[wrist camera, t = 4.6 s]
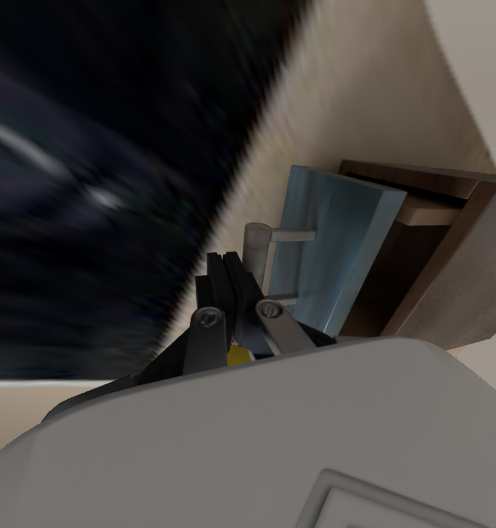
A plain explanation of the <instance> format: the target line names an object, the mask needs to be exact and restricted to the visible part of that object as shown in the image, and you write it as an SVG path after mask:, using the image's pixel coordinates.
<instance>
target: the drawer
mask: <svg viewBox="0 0 496 528" xmlns="http://www.w3.org/2000/svg"><path fill="white" fill-rule="evenodd" d="M467 201H468V199H463V198H459V197H454V196H450V195H446V194H441V193H437V192H432V191H428V190H423V189H419V188H415V187H410V186H406V185H401V184H397V183H388V182H371V181H363V180H359V179H355V178H351V177H347V176H343V175H340V174H336V173H332V172H328V171H324V170H320V169H316V168H312V167H308V166H298V165H292V166H291V172H290V177H289V183H288V188H287V193H286V199H285V204H284V210H283V215H282V221H281V226H280V228H271V227H270V226H268V225H266V224H263V223H248V224H247V225H246V226H245V234H244V245H243V257H242V265H243V267H244V269H245V271H246V272H252V274H253V275H254V277H255V279H256V281H257V283H258V285H259V287H260V289H261V291H262V284H263V278H264V272H265V266H266V259H267V253H268V247H269V241H271V242H277V248H276V253H275V259H274V264H273V269H272V275H271V280H270V286H269V291H268V294H269V296H264V297H265V299H273V300H276V301H278V302H280V303H281V304H282V305H283V306H284V307H285V308H286V309H287V311H288V312H289V313H290V314H291V316H292V317H293V318H294V319H295V320H297V321H299V322H301V323H303V324H306V325H308V326H310V327H312V328H314V329H317V330H319V331H321V332H323V333H325V334H327V335H329V336H330V337H331V338H332V337H333V335H335V336H360V337H372V338H373V337H379V336H380V334H381V333H382V331H383V330H384V328H385V326H386V325H387V323H388V322H389V320H390V319H391V317H392V316H393V314H394V313H395V311H396V310H397V308H398V307H399V305H400V303H401V302H402V300H403V299H404V297H405V296H406V294H407V293H408V291H409V290H410V288H411V287H412V285H413V284H414V282H415V281H416V279H417V277H418V276H419V274H420V273H421V271H422V270H423V268H424V267H425V265H426V264H427V262H428V261H429V259H430V258H431V256H432V254H433V253H434V251H435V250H436V248H437V247H438V245H439V244H440V242H441V241H442V239H443V238H444V236H445V235H446V233H447V232H448V230H449V228H450V227H451V225H452V224H453V222H454V221H455V219H456V218H457V216H458V215H459V213H460V212H461V210H462V209H463V207H464V205H465V204H466V202H467Z"/></svg>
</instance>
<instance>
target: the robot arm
mask: <svg viewBox="0 0 496 528" xmlns="http://www.w3.org/2000/svg"><path fill="white" fill-rule="evenodd" d="M195 284H196V300H197V310H196V311H195V312H194V313H193V314H192V317H191V322H190V327H189V328H188V329H187V330H186V331H185V332H184V333H183V334H182V335H180V336H179V337H178V338H177V339H176V340H175V341H174V342H173V343H172V344H171V345H170V346H169V347H167V348H166V349H165V350H164V351H163V352H162V353H161V354H160V355H159V356H158V357H157V358H156V359H154V360H153V361H152V362H151V363H150V364H149V365H148V366H147V367H146V368H145V369H144V370H143V372H142V373H141V374H138V375H136V376H133V377H132V374H131V375H128V376H126V377H123V378H121V379H118V380H115V381H113V382H110V383H108V384H105V385H103V386H100V387H97V388H95V389H92V390H90V391H87V392H85V393H82V394H79V395H77V396H74V397H72V398H69V399H67V400H65V401H63V402H61V403H60V404H58V405H57V406H56V407H54V408H53V409H52V410H51V411H49V413H48V414H47V415H46V417H45V418H44V419H43V420H42V422H41V423H40V424H38V425H36V426H35V427H33V428H31V429H30V430H28V431H26V432H25V433H23V434H22V435H20V436H19V437H17V438H16V439H14V440H13V441H12V442H10V443H9V444H7V445H6V446H5V447H4V448H2V449H1V450H0V528H496V390H495V389H494V388H493V387H491V386H490V385H489V384H488V383H487V382H486V381H484V380H483V379H482V378H481V377H479V376H478V375H477V374H476V373H474V372H473V371H472V370H471V369H469V368H468V367H467V366H465V365H464V364H463V363H461V362H460V361H459V360H458V359H456V358H455V357H453V356H452V355H451V354H449V353H448V352H446V351H445V350H443V349H442V348H440V347H439V346H437V345H435V344H432V343H430V342H427V341H423V340H420V339H415V338H409V337H400V336H383V337H373V338H372V337H360V336H335V335H333V337H332V338H331V337H330V336H329V335H327V334H325V333H323V332H321V331H319V330H317V329H314V328H312V327H310V326H308V325H306V324H303V323H301V322H299V321H297V320H295V319H294V318H293V317H292V316H291V314H290V313H289V312H288V311H287V309H286V308H285V307H284V306H283V305H282V304H281V303H280V302H278V301H276V300H273V299H265V297H264V295H263V293H262V291H261V289H260V287H259V285H258V283H257V281H256V279H255V277H254V275H253V274H252V272H246V271H245V269H244V267H243V265H242V263H241V260H240V258H239V256H238V254H237V252H236V251H235V252H226V254H223V260H222V257H221V255H218V254H217V252H213V253H207V275H203V276H195ZM232 338H233V341H234V342H237V343H238V347H239V348H242V347H243V348H245V349H247V350H249V352H248V353H249V357H250V359H251V361H250V362H245V363H241V364H236V365H231V366H227V354H228V352H229V351H230V347H231V339H232Z"/></svg>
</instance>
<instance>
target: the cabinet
mask: <svg viewBox="0 0 496 528" xmlns="http://www.w3.org/2000/svg"><path fill="white" fill-rule="evenodd" d="M338 174H340V175H343V176H347V177H351V178H355V179H359V180H363V181H371V182H388V183H397V184H401V185H406V186H410V187H415V188H419V189H423V190H428V191H432V192H437V193H441V194H446V195H450V196H454V197H459V198H463V199H468V201H467V202H466V204H465V205H464V207H463V209H462V210H461V212H460V213H459V215H458V216H457V218H456V219H455V221H454V222H453V224H452V225H451V227H450V228H449V230H448V232H447V233H446V235H445V236H444V238H443V239H442V241H441V242H440V244H439V245H438V247H437V248H436V250H435V251H434V253H433V254H432V256H431V258H430V259H429V261H428V262H427V264H426V265H425V267H424V268H423V270H422V271H421V273H420V274H419V276H418V277H417V279H416V281H415V282H414V284H413V285H412V287H411V288H410V290H409V291H408V293H407V294H406V296H405V297H404V299H403V300H402V302H401V303H400V305H399V307H398V308H397V310H396V311H395V313H394V314H393V316H392V317H391V319H390V320H389V322H388V323H387V325H386V326H385V328H384V330H383V331H382V333H381V334H380V336H379V337H383V336H400V337H409V338H415V339H420V340H423V341H427V342H430V343H432V344H435V345H437V346H439V347H440V348H442V349H443V350H445V351H446V350H450V349H453V348H457V347H461V346H464V345H468V344H471V343H475V342H479V341H483V340H486V339H490V338H491V337H492V336H493V335H495V334H496V175H494V174H486V173H478V172H470V171H462V170H452V169H442V168H431V167H420V166H410V165H399V164H388V163H378V162H367V161H356V160H346V159H343V160H342V162H341V166H340V169H339V172H338Z"/></svg>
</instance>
